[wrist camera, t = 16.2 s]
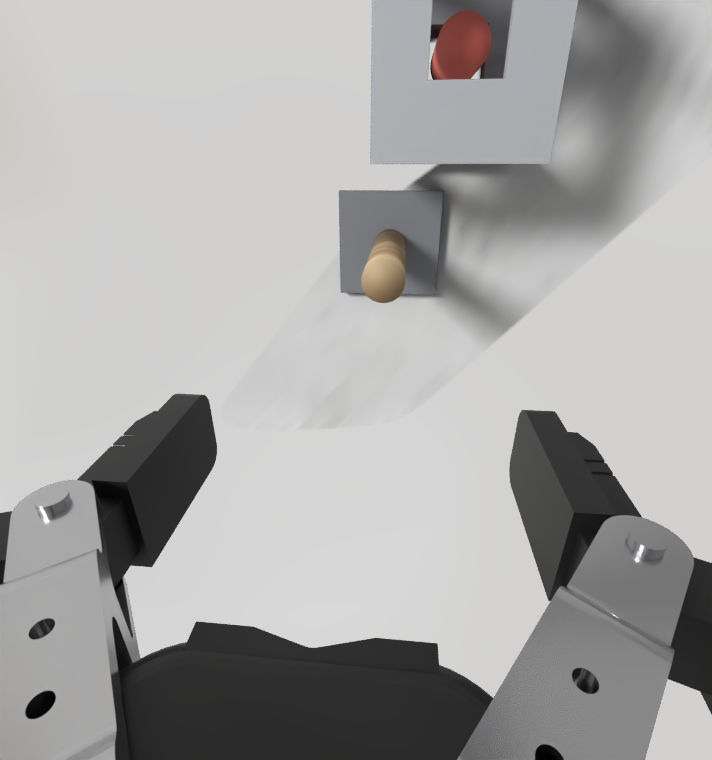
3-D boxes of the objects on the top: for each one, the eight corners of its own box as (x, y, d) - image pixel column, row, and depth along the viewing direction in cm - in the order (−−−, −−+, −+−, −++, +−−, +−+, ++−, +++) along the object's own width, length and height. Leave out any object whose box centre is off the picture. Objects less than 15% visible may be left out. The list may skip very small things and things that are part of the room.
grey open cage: (382, -46, 28) (373, -131, 20) (542, -53, 28) (603, -144, 19) (378, 162, 34) (370, 164, 25) (512, 161, 33) (549, 163, 25)
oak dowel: (374, 229, 35) (361, 258, 25) (406, 229, 35) (406, 259, 24) (374, 260, 36) (361, 302, 26) (404, 261, 36) (404, 303, 25)
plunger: (432, 39, 30) (438, 11, 24) (477, 37, 30) (494, 9, 24) (429, 91, 31) (434, 76, 26) (471, 90, 31) (487, 75, 25)
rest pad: (340, 190, 35) (338, 191, 34) (442, 190, 34) (443, 191, 34) (341, 289, 39) (340, 292, 38) (434, 292, 38) (435, 294, 37)
